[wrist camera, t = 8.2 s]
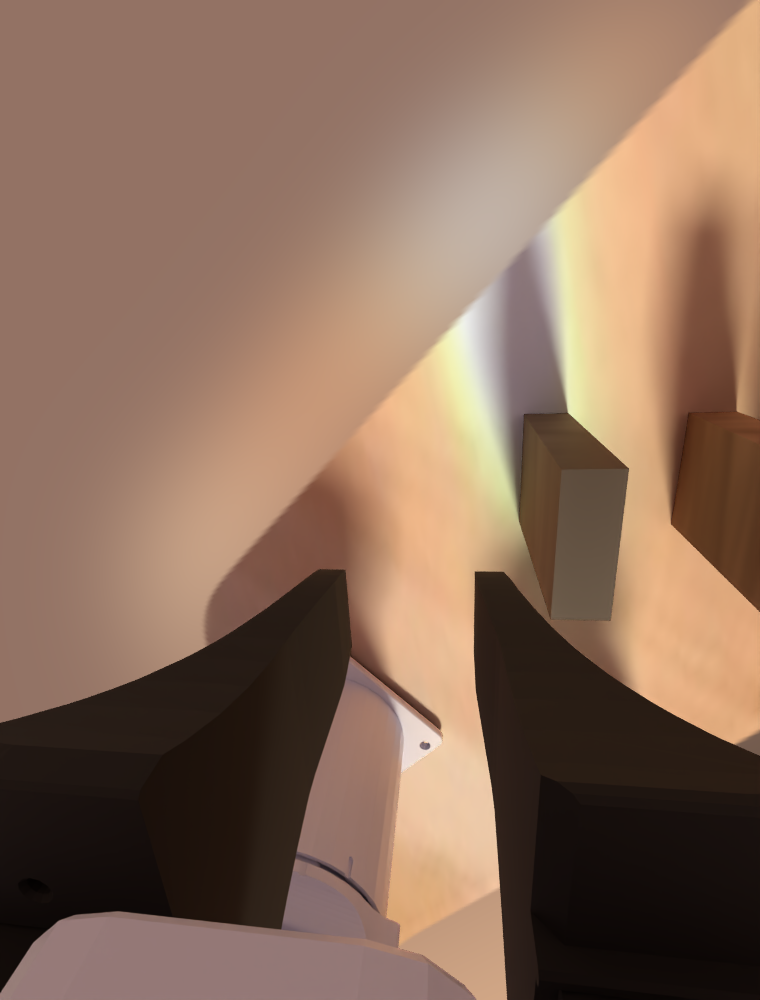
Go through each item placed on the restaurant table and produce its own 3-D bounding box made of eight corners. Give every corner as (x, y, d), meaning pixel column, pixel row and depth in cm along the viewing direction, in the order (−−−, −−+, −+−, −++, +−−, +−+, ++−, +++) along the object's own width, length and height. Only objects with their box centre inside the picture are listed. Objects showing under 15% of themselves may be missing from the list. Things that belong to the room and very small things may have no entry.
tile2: (671, 524, 20) (777, 628, 14) (688, 413, 19) (817, 470, 12) (715, 524, 20) (843, 630, 13) (736, 411, 18) (893, 470, 12)
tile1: (519, 521, 21) (550, 619, 14) (523, 414, 19) (561, 469, 13) (559, 521, 21) (610, 620, 14) (567, 413, 19) (629, 468, 13)
